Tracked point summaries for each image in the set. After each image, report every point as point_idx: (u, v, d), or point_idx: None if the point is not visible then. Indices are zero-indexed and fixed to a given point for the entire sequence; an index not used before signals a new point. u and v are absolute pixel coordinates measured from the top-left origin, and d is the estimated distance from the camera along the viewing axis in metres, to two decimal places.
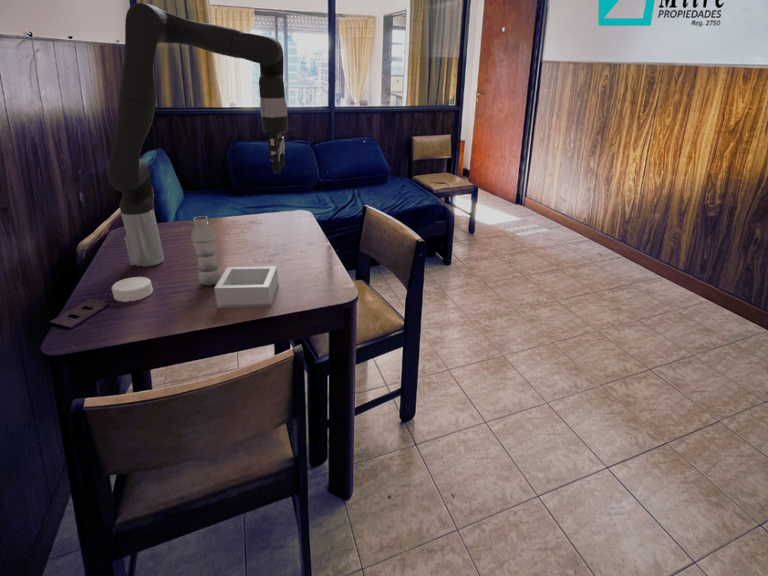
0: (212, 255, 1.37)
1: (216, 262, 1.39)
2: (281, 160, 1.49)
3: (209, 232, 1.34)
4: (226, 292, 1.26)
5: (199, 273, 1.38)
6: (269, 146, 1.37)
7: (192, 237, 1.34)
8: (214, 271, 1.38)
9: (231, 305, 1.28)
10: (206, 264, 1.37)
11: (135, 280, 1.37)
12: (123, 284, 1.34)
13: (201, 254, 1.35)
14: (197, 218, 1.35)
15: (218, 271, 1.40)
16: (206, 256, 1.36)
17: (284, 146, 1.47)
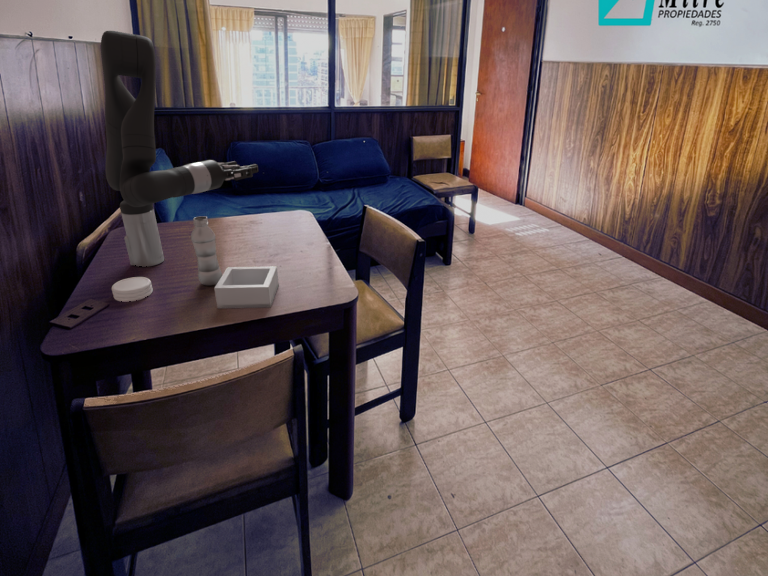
0: (212, 255, 1.37)
1: (216, 262, 1.39)
2: None
3: (209, 232, 1.34)
4: (226, 292, 1.26)
5: (199, 273, 1.38)
6: None
7: (192, 237, 1.34)
8: (214, 271, 1.38)
9: (231, 305, 1.28)
10: (206, 264, 1.37)
11: (135, 280, 1.37)
12: (123, 284, 1.34)
13: (201, 254, 1.36)
14: (197, 218, 1.35)
15: (218, 271, 1.40)
16: (206, 256, 1.36)
17: None
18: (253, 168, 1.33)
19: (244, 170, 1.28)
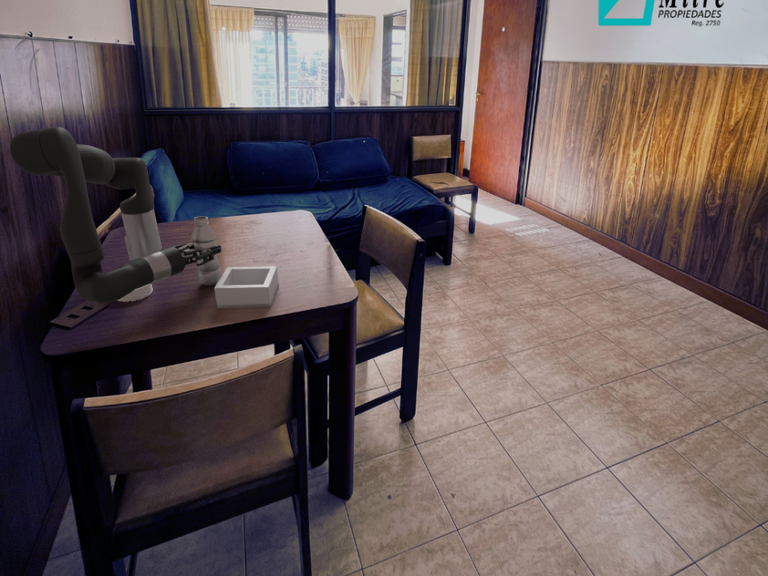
0: None
1: (216, 262, 1.39)
2: None
3: (210, 232, 1.34)
4: (226, 292, 1.26)
5: (199, 273, 1.38)
6: None
7: (192, 237, 1.34)
8: (214, 271, 1.38)
9: (231, 305, 1.28)
10: (206, 264, 1.37)
11: None
12: None
13: None
14: (197, 218, 1.35)
15: (218, 271, 1.40)
16: None
17: None
18: (215, 250, 1.35)
19: (206, 255, 1.30)
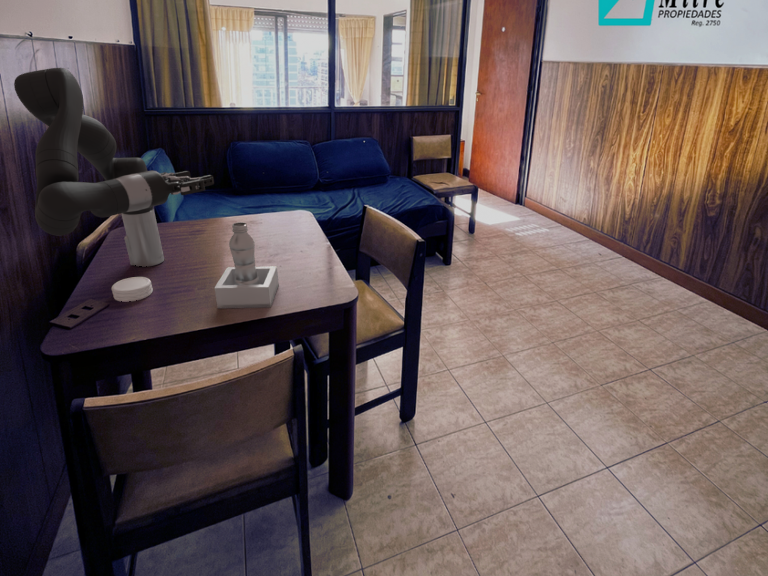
0: (251, 263, 1.29)
1: (255, 271, 1.31)
2: None
3: (249, 239, 1.26)
4: (226, 292, 1.26)
5: (237, 282, 1.30)
6: None
7: (231, 244, 1.25)
8: (252, 280, 1.30)
9: (231, 305, 1.28)
10: (244, 273, 1.29)
11: (135, 280, 1.37)
12: (123, 284, 1.34)
13: (240, 262, 1.27)
14: (236, 224, 1.27)
15: (257, 280, 1.31)
16: (245, 264, 1.28)
17: None
18: (207, 180, 1.12)
19: (194, 183, 1.07)
